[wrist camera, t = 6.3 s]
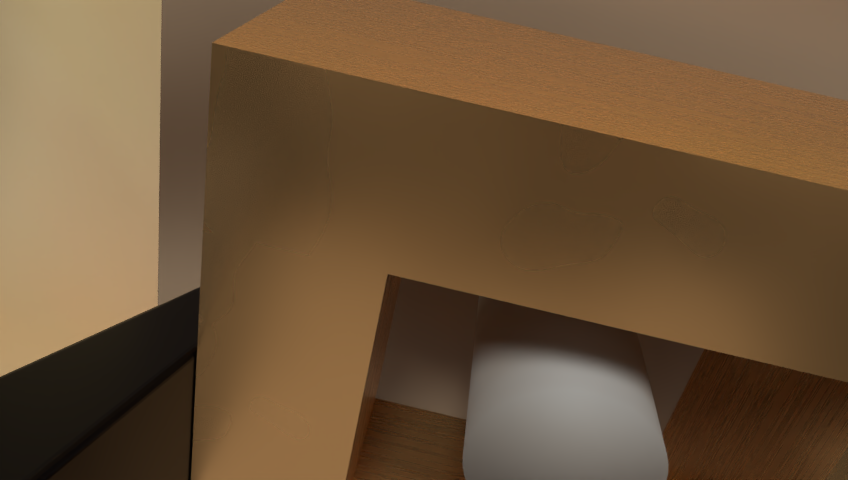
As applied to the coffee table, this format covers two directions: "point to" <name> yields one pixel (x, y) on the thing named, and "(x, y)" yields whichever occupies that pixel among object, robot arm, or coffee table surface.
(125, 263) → the coffee table surface
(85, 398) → the robot arm
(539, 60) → the brown hollow square block
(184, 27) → the keeper plate
